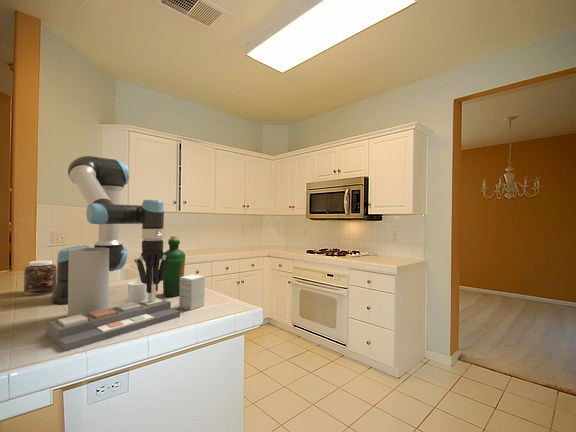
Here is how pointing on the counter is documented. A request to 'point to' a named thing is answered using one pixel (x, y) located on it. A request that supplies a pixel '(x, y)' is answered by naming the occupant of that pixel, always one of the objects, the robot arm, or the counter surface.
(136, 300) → the white cup
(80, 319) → the key white
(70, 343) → the key pad
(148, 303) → the key sage
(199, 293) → the supplement box
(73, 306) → the cylinder vase
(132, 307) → the key grey
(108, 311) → the key terracotta
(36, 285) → the jar
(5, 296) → the counter surface
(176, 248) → the bottle
